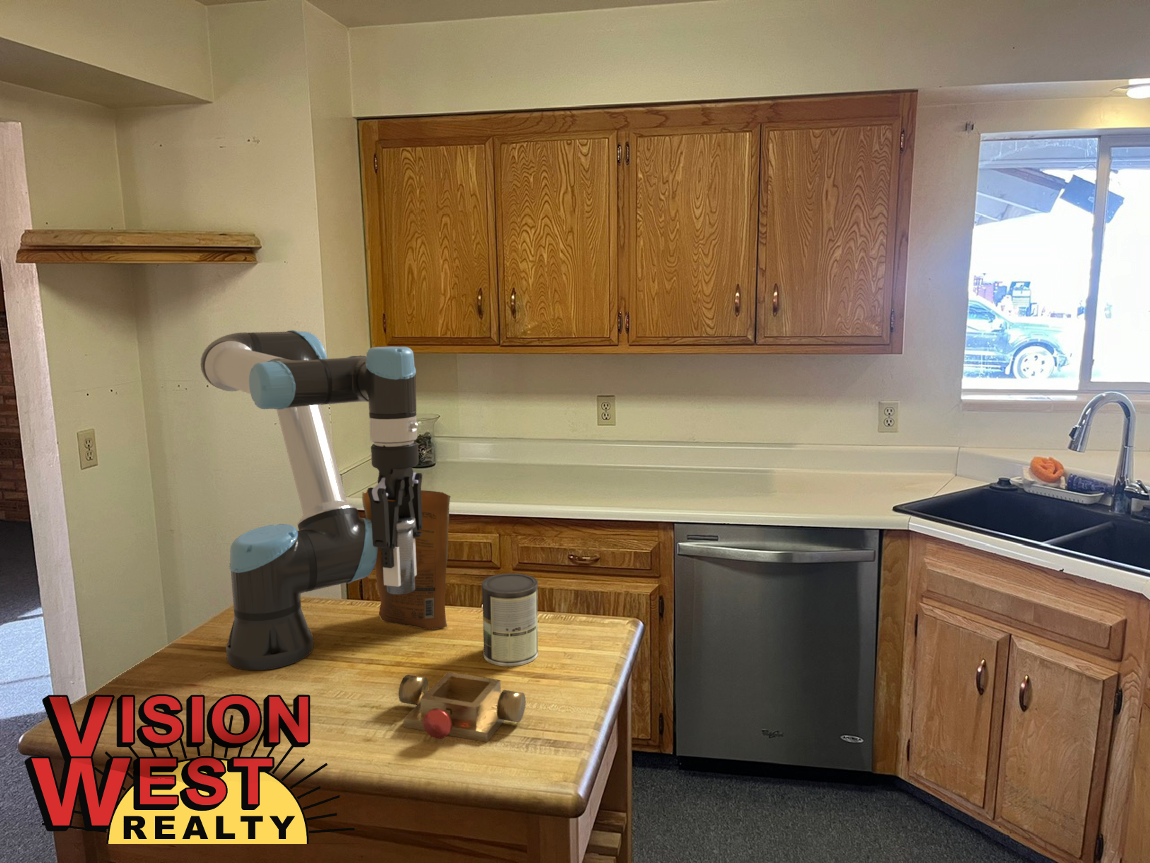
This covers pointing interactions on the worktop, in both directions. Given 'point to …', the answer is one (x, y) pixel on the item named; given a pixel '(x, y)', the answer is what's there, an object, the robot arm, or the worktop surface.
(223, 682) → the worktop surface
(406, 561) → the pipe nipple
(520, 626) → the coffee can
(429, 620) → the pancake mix bag
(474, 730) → the valve body
